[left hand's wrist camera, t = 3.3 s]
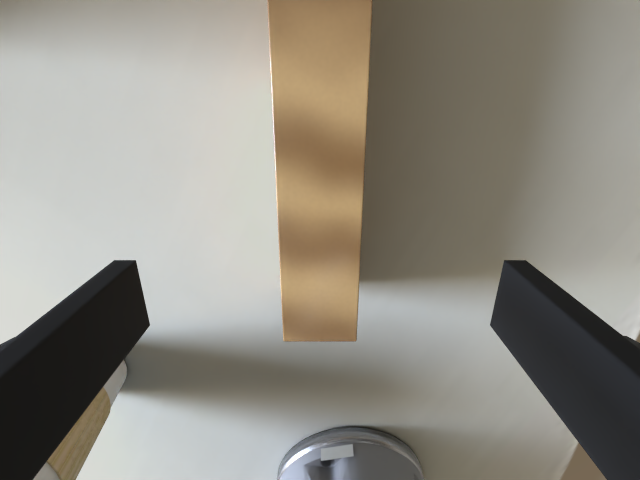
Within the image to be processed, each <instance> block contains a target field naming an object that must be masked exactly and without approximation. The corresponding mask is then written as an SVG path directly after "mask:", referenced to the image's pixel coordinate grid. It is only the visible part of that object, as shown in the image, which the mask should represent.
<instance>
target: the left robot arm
mask: <svg viewBox="0 0 640 480" xmlns="http://www.w3.org/2000/svg"><path fill="white" fill-rule="evenodd" d="M149 326H150V323H149V319H148V314H147V310H146V305H145V300H144V296H143V291H142V287H141V282H140V277H139V273H138V268H137V264H136V260H114V261H113V262H112V263H110V264H109V265H108V266H106V267H105V268H104V269H103V270H101V271H100V272H99V273H97V274H96V275H95V276H94V277H92V278H91V279H90V280H88V281H87V282H86V283H85V284H83V285H82V286H81V287H79V288H78V289H77V290H76V291H74V292H73V293H72V294H70V295H69V296H68V297H67V298H65V299H64V300H63V301H61V302H60V303H59V304H58V305H56V306H55V307H54V308H52V309H51V310H50V311H49V312H47V313H46V314H45V315H43V316H42V317H41V318H40V319H38V320H37V321H36V322H34V323H33V324H32V325H31V326H29V327H28V328H27V329H25V330H24V331H23V332H22V333H20V334H19V335H18V336H16V337H14V338H12V339H10V340H8V341H6V342H4V343H2V344H1V345H0V480H33V479H34V478H35V476H36V475H37V474H38V472H39V471H40V470H41V468H42V467H43V466H44V464H45V463H46V462H47V460H48V459H49V458H50V456H51V455H52V454H53V453H54V451H55V450H56V449H57V447H58V446H59V445H60V443H61V442H62V441H63V439H64V438H65V437H66V435H67V434H68V433H69V431H70V430H71V429H72V427H73V426H74V425H75V423H76V422H77V421H78V419H79V418H80V417H81V416H82V414H83V413H84V412H85V410H86V409H87V408H88V406H89V405H90V404H91V402H92V401H93V400H94V398H95V397H96V396H97V394H98V393H99V392H100V390H101V389H102V388H103V386H104V385H105V384H106V382H107V381H108V380H109V379H110V377H111V376H112V375H113V373H114V372H115V371H116V369H117V368H118V367H119V365H120V364H121V363H122V361H123V360H124V359H125V357H126V356H127V355H128V353H129V352H130V351H131V349H132V348H133V347H134V345H135V344H136V343H137V342H138V340H139V339H140V338H141V336H142V335H143V334H144V332H145V331H146V330H147V328H148V327H149ZM490 326H491V327H492V328H493V330H494V331H495V332H496V334H497V335H498V336H499V338H500V339H501V340H502V342H503V343H504V344H505V345H506V347H507V348H508V349H509V351H510V352H511V353H512V355H513V356H514V357H515V359H516V360H517V361H518V363H519V364H520V365H521V367H522V368H523V369H524V371H525V372H526V373H527V375H528V376H529V377H530V379H531V380H532V381H533V382H534V384H535V385H536V386H537V388H538V389H539V390H540V392H541V393H542V394H543V396H544V397H545V398H546V400H547V401H548V402H549V404H550V405H551V406H552V408H553V409H554V410H555V412H556V413H557V414H558V416H559V417H560V418H561V419H562V421H563V422H564V423H565V425H566V426H567V427H568V429H569V430H570V431H571V433H572V434H573V435H574V437H575V438H576V439H577V441H578V442H579V443H580V445H581V446H582V447H583V449H584V450H585V451H586V452H587V454H588V455H589V456H590V458H591V459H592V460H593V462H594V463H595V464H596V466H597V467H598V468H599V470H600V471H601V472H602V474H603V475H604V476H605V478H606V479H607V480H640V343H639V342H637V341H635V340H633V339H631V338H629V337H627V336H622V335H621V334H620V333H618V332H617V331H616V330H615V329H613V328H612V327H611V326H609V325H608V324H607V323H606V322H604V321H603V320H602V319H600V318H599V317H598V316H597V315H595V314H594V313H593V312H591V311H590V310H589V309H588V308H586V307H585V306H584V305H582V304H581V303H580V302H579V301H577V300H576V299H575V298H573V297H572V296H571V295H570V294H568V293H567V292H566V291H564V290H563V289H562V288H561V287H559V286H558V285H557V284H555V283H554V282H553V281H552V280H550V279H549V278H548V277H546V276H545V275H544V274H543V273H541V272H540V271H539V270H537V269H536V268H535V267H534V266H532V265H531V264H530V263H528V262H527V261H526V260H504V264H503V268H502V273H501V277H500V282H499V287H498V291H497V296H496V300H495V305H494V310H493V314H492V319H491V323H490ZM277 480H424V477H423V473H422V469H421V466H420V463H419V460H418V458H417V457H416V455H415V454H414V452H413V451H412V450H411V449H410V448H409V447H408V446H407V445H406V444H405V443H403V442H402V441H400V440H399V439H397V438H395V437H393V436H391V435H389V434H386V433H384V432H380V431H377V430H372V429H367V428H356V427H348V428H337V429H331V430H327V431H323V432H320V433H317V434H314V435H312V436H310V437H308V438H306V439H304V440H302V441H301V442H299V443H298V444H296V445H295V446H294V447H293V448H292V449H291V450H289V452H288V453H287V454H286V455H285V457H284V458H283V460H282V462H281V464H280V467H279V470H278V477H277Z"/></svg>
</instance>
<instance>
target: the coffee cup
mask: <svg viewBox="0 0 640 480" xmlns="http://www.w3.org/2000/svg"><path fill="white" fill-rule="evenodd" d="M126 376H127V367H126V364H125V361H124V360H123V361H122V363H121V364H120V365H119V367H118V368H117V369H116V371H115V372H114V373H113V375H112V376H111V377H110V379H109V380H108V381H107V382H106V384H105V385H104V386H103V388H102V389H101V390H100V392H99V393H98V394H97V396H96V397H95V398H94V400H93V401H92V402H91V404H90V405H89V406H88V408H87V409H86V410H85V412H84V413H83V414H82V416H81V417H80V418H79V419H78V421H77V422H76V423H75V425H74V426H73V427H72V429H71V430H70V431H69V433H68V434H67V435H66V437H65V438H64V439H63V441H62V442H61V443H60V445H59V446H58V447H57V449H56V450H55V451H54V453H53V454H52V455H51V456H50V458H49V459H48V460H47V462H46V463H45V464H44V466H43V467H42V468H41V470H40V471H39V472H38V474H37V475H36V476H35V478H34V479H33V480H76V478H77V476H78V474H79V472H80V470H81V468H82V466H83V464H84V462H85V460H86V458H87V456H88V454H89V452H90V451H91V449H92V447H93V445H94V443H95V441H96V439H97V437H98V435H99V433H100V431H101V429H102V427H103V425H104V423H105V421H106V419H107V417H108V415H109V413H110V408H111V406H112V404H113V402H114V400H115V398H116V397H117V395H118V393H119V391H120V389H121V387H122V385H123V383H124V381H125V379H126Z"/></svg>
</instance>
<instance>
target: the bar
mask: <svg viewBox="0 0 640 480" xmlns="http://www.w3.org/2000/svg"><path fill="white" fill-rule="evenodd" d="M372 2H373V0H267V6H268V27H269V48H270V69H271V90H272V111H273V132H274V152H275V173H276V194H277V215H278V236H279V257H280V278H281V299H282V320H283V340H284V341H356V339H357V318H358V297H359V275H360V254H361V233H362V212H363V191H364V170H365V149H366V128H367V107H368V86H369V65H370V44H371V23H372Z"/></svg>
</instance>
